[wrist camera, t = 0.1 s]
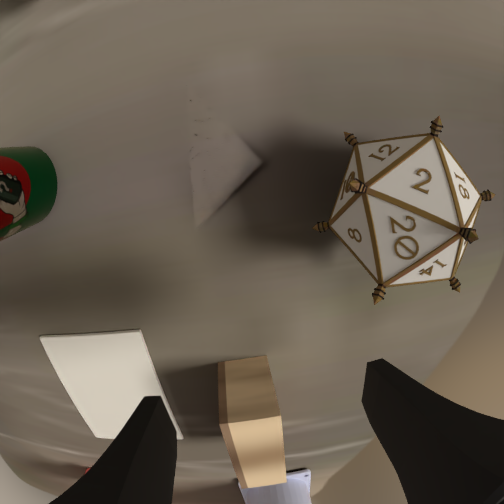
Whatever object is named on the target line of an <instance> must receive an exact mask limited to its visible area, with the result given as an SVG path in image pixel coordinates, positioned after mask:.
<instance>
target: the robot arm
mask: <svg viewBox="0 0 504 504" xmlns="http://www.w3.org/2000/svg"><path fill="white" fill-rule="evenodd" d="M362 404H363V406H364V409H365V412H366V414H367V417H368V419H369V422H370V424H371V426H372V428H373V430H374V432H375V433H376V435H377V437H378V439H379V441H380V443H381V444H382V446H383V448H384V449H385V451H386V453H387V455H388V457H389V459H390V461H391V462H392V464H393V466H394V468H395V470H396V472H397V474H398V477H399V479H400V482H401V485H402V487H403V490H404V493H405V496H406V498H407V502H408V504H504V420H501V419H497V418H494V417H490V416H487V415H484V414H481V413H478V412H475V411H473V410H470V409H468V408H465V407H463V406H461V405H458V404H456V403H454V402H452V401H450V400H448V399H446V398H444V397H443V396H441V395H439V394H437V393H435V392H434V391H432V390H430V389H428V388H427V387H425V386H424V385H422V384H420V383H419V382H417V381H416V380H414V379H413V378H411V377H410V376H408V375H407V374H405V373H404V372H402V371H401V370H399V369H398V368H396V367H395V366H393V365H392V364H390V363H389V362H387V361H386V360H384V359H383V358H382V359H378V360H375V361H371V362H367V368H366V375H365V382H364V389H363V395H362ZM176 459H177V431H176V429H175V427H174V424H173V422H172V420H171V418H170V416H169V413H168V411H167V409H166V407H165V404H164V402H163V400H162V397H161V396H144V397H143V399H142V400H141V402H140V403H139V405H138V406H137V408H136V409H135V411H134V412H133V414H132V415H131V416H130V418H129V419H128V421H127V422H126V424H125V425H124V427H123V428H122V430H121V431H120V432H119V434H118V435H117V436H116V438H115V439H114V441H113V442H112V443H111V445H110V446H109V447H108V448H107V450H106V451H105V452H104V453H103V454H102V456H101V457H100V458H99V459H98V461H97V462H96V463H95V464H94V465H93V466H92V467H91V468H90V469H89V470H88V471H87V472H86V473H85V474H84V475H83V476H82V477H81V478H80V479H79V480H78V481H77V482H76V483H75V484H74V485H72V486H71V487H70V488H69V489H68V490H66V491H65V492H64V493H63V494H62V495H60V496H59V497H58V498H56V499H55V500H53V501H52V502H50V503H49V504H171V503H172V494H173V485H174V477H175V468H176ZM310 478H311V472H310V470H309V469H306V470H301V471H296V472H291V473H286V479H287V482H286V483H280V484H274V485H268V486H261V487H253V488H245V489H241V486H240V483H239V481H238V485H239V488H240V491H241V493H242V496H243V498H244V501H245V503H246V504H312V503H311V500H310V496H309V493H310Z"/></svg>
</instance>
